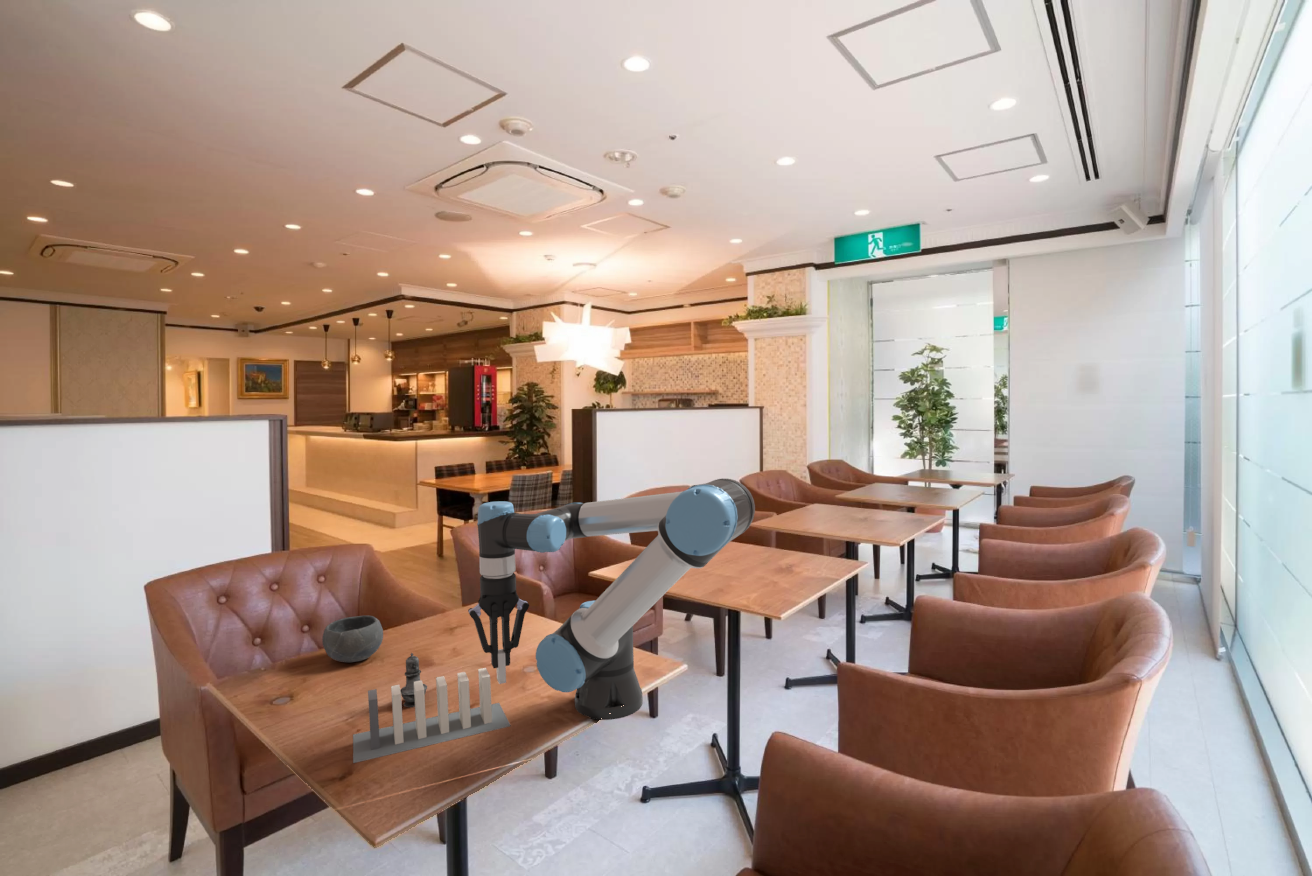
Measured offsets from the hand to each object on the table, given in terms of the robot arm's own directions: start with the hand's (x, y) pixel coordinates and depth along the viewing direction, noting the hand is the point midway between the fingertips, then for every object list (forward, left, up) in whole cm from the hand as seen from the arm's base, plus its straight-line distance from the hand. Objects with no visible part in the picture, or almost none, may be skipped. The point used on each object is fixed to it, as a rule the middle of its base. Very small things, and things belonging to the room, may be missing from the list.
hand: (501, 680), depth 142 cm
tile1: (+2, +3, -7) cm, 8 cm away
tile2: (+4, +7, -7) cm, 11 cm away
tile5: (+12, +17, -7) cm, 22 cm away
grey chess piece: (+22, +5, -8) cm, 24 cm away
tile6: (+14, +21, -7) cm, 27 cm away
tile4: (+10, +14, -7) cm, 18 cm away
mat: (+8, +12, -8) cm, 17 cm away
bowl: (+59, -6, -8) cm, 60 cm away
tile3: (+7, +10, -7) cm, 14 cm away
